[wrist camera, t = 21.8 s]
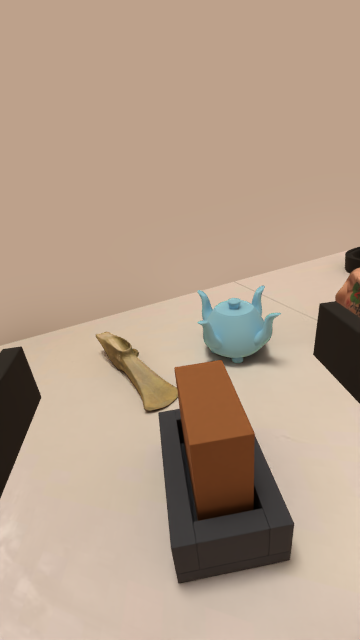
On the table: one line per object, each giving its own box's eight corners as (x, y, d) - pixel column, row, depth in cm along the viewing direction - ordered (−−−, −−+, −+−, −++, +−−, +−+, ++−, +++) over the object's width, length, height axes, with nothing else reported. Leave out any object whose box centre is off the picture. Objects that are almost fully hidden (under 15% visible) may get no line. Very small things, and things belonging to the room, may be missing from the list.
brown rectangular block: (200, 537, 28) (189, 445, 23) (184, 448, 37) (174, 367, 32) (253, 526, 28) (255, 433, 23) (225, 441, 37) (221, 359, 32)
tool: (185, 402, 48) (185, 380, 46) (149, 421, 45) (147, 397, 43) (125, 338, 64) (122, 319, 62) (96, 348, 61) (92, 328, 59)
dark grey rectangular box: (178, 583, 26) (171, 548, 24) (164, 444, 40) (158, 412, 37) (290, 560, 27) (294, 523, 25) (239, 430, 40) (238, 398, 38)
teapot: (263, 330, 63) (265, 284, 58) (279, 369, 51) (282, 315, 46) (200, 334, 64) (197, 289, 59) (201, 373, 52) (197, 320, 48)
